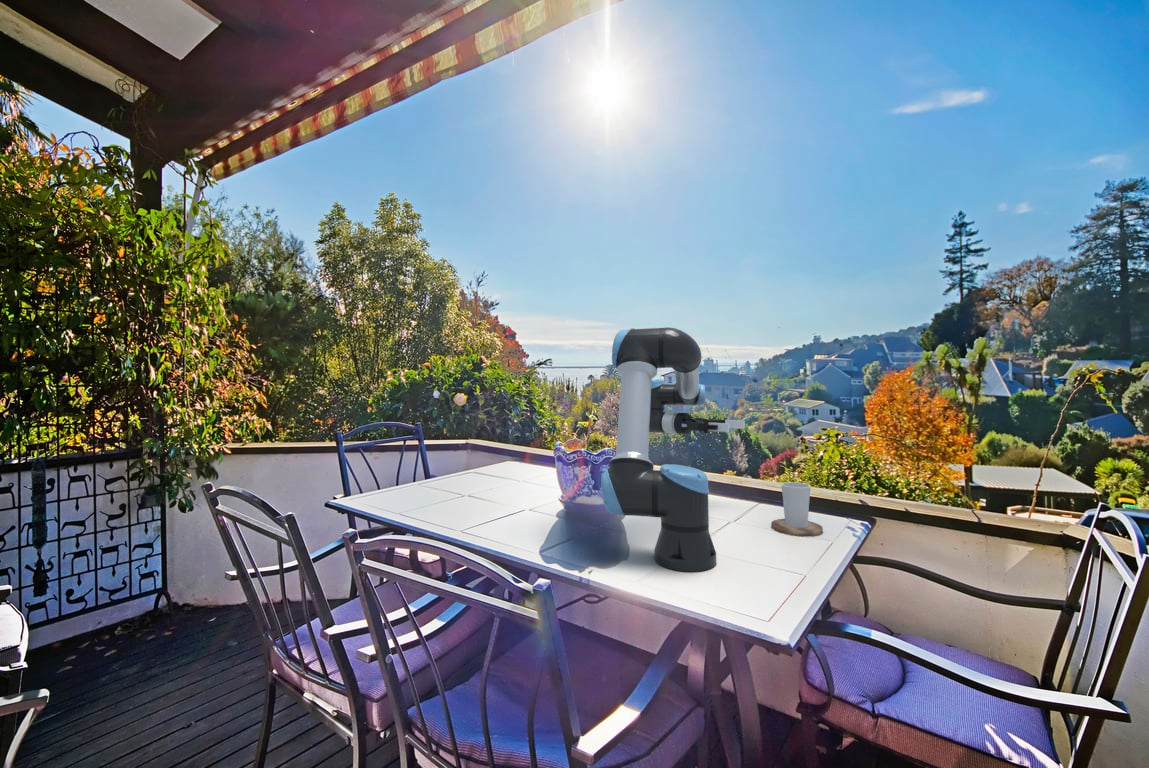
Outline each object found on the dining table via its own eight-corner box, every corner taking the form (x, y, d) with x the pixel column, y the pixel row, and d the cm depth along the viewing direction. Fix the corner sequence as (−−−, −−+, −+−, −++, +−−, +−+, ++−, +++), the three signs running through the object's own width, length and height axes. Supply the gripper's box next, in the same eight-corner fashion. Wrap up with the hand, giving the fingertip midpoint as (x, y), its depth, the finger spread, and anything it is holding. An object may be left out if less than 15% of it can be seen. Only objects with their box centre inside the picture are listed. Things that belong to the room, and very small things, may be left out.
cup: (807, 530, 140) (807, 489, 140) (778, 525, 145) (778, 485, 145) (813, 523, 147) (813, 484, 147) (785, 519, 152) (785, 481, 152)
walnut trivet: (792, 538, 137) (792, 533, 137) (761, 524, 151) (761, 520, 151) (833, 534, 141) (833, 529, 141) (800, 520, 154) (800, 516, 154)
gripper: (693, 430, 181) (750, 434, 168) (660, 437, 162) (721, 441, 149) (693, 410, 181) (750, 412, 168) (659, 414, 162) (721, 417, 149)
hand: (736, 426), depth 158 cm, fingers open, 13 cm apart
